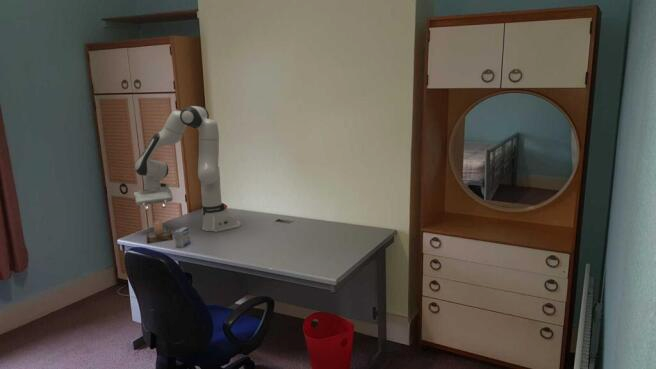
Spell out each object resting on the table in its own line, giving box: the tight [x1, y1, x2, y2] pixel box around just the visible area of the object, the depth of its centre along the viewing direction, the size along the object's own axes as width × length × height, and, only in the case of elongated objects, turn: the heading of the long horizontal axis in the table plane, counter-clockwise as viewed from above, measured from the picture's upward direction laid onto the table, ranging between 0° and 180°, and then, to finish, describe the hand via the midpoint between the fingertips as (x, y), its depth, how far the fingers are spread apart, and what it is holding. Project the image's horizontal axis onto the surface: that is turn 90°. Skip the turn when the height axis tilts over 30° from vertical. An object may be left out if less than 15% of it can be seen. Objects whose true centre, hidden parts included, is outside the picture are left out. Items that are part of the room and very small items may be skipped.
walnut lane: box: [145, 227, 173, 244], centre depth 260 cm, size 13×14×3 cm
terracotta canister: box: [153, 220, 165, 237], centre depth 257 cm, size 4×4×10 cm
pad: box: [153, 226, 168, 236], centre depth 272 cm, size 7×10×1 cm
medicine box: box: [173, 226, 191, 248], centre depth 247 cm, size 8×4×9 cm, turn 168°
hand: (155, 208), depth 265 cm, fingers open, 8 cm apart
